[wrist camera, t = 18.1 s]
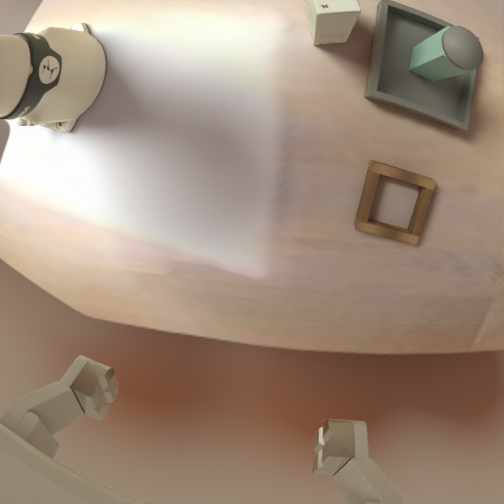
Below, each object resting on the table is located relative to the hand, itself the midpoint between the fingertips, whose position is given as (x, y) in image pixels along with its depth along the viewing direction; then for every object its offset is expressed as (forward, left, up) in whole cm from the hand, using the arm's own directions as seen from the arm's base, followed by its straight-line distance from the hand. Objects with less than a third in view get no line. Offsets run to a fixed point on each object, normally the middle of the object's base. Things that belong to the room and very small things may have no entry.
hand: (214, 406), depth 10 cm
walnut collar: (+14, +2, -33) cm, 36 cm away
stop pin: (+14, +21, -32) cm, 41 cm away
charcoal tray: (+14, +21, -33) cm, 41 cm away
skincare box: (+1, +23, -33) cm, 40 cm away
